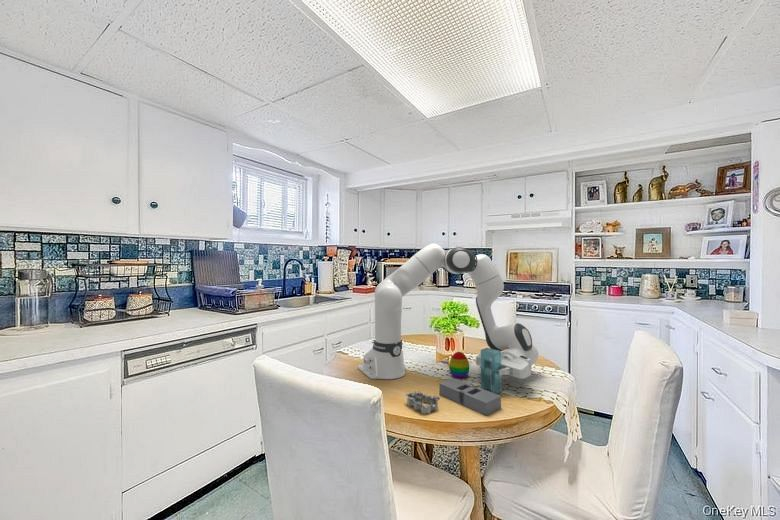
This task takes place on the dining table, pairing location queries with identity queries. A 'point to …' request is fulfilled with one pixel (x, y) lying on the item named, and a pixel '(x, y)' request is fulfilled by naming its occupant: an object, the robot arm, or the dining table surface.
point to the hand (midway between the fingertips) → (489, 369)
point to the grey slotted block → (470, 396)
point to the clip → (490, 370)
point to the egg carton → (419, 398)
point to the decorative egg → (459, 365)
